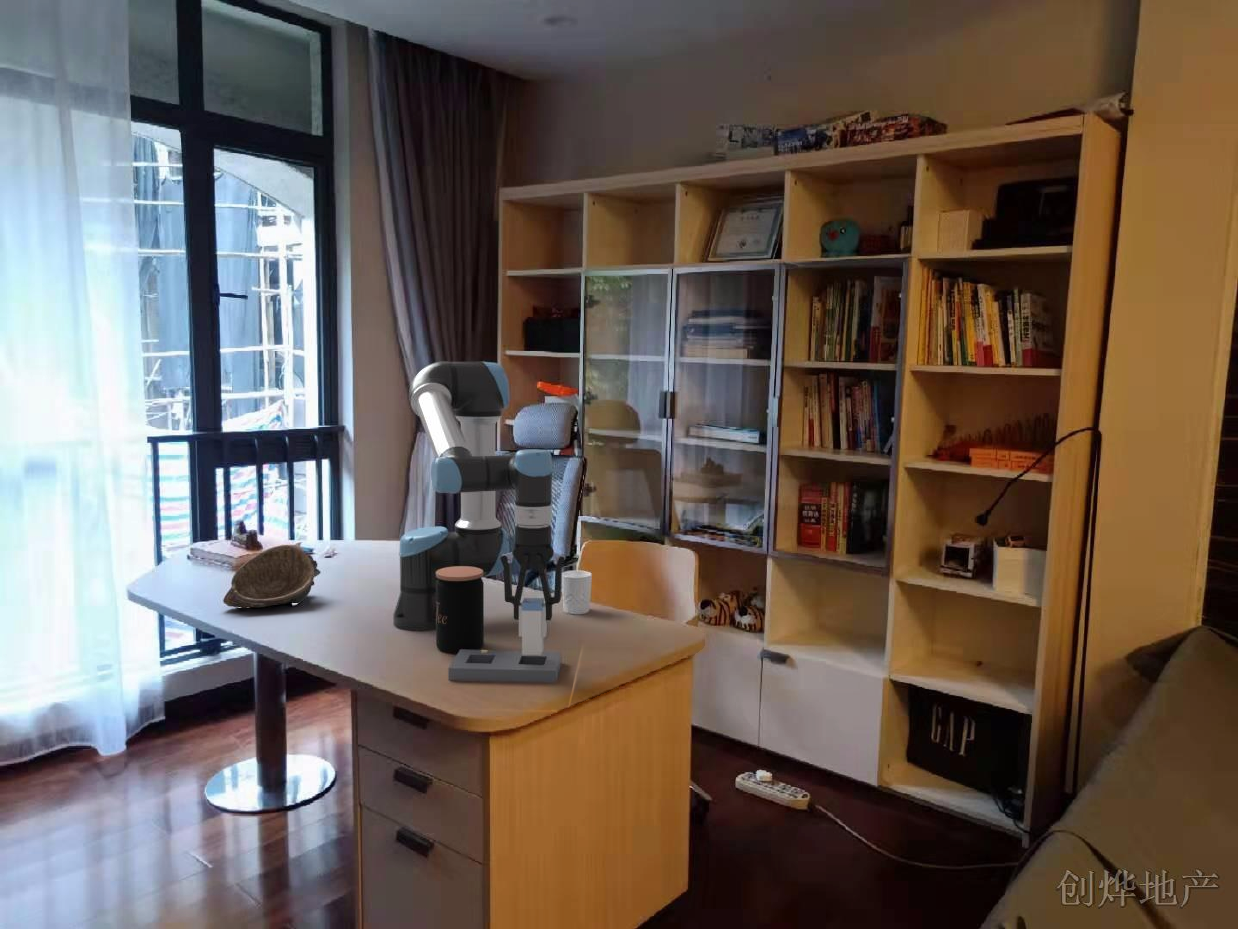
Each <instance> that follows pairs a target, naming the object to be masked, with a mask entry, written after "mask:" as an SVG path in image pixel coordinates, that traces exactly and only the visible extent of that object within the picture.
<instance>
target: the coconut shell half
mask: <svg viewBox="0 0 1238 929" xmlns="http://www.w3.org/2000/svg"><path fill="white" fill-rule="evenodd" d="M318 566H319V565H318V562H317V560H315V559H314V558H313V556H312V555H310V554H307V553H306V552H305V551H304V550H303V549H302V548H301V547H300V546H297V545H294V544H280V545H276V546H273V547H269V548H267V549H264V550H263V551H260V552H259V553H257V554H255V555H254V556H252V557H251V558H250V559H248V560H246V562H245V563H243V564H242V565H241V566H240V567H239V568H238V569H237V570H236V572H235V573H234V575H233V577H232V578H231V587H230V588H229V590H228V591H227V592H226V594H225V596H224V598H223V600H222V601H223V603H224V604H225V605H226V606H228V607H232V608H238V607H242V608H243V609H247V608H246V607H257V608H256V609H258V608H265V606H266V607H271V606H274V605H275V604H281V605H283V604H287V603H290V604H291V603H299V602H301V603H302V602H303V601H304V600H305V599H306V598H307V596H308V595H309V594H310V592H311V589H312V586H315V581H314V579H315V578H316V577H318V576H319V575H320V574H321V572H322V571H321V570H320V569H318ZM299 604H300V603H299ZM275 606H276V605H275ZM242 608H241V609H242Z"/></svg>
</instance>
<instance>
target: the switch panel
mask: <svg viewBox="0 0 1238 929" xmlns="http://www.w3.org/2000/svg"><path fill="white" fill-rule="evenodd" d="M561 666H562V651H544V650H543V651H542V654H541V655H522V650H503V649H501V650H499V649H498V650H497V649H479V650H465V649H460V651H459V652H458V654H456V655H455V657H454V658H453V660H452V662H451V663H450V665H449V667H448V668H447V670H448V671H447V672H448V675H447V676H448V681H463V682H464V681H469V682H506V683H507V682H508V683H509V682H510V683H539V684H540V683H541V684H542V683H546V684H549V683H550V684H555V683H557V680H558V678H559V674H560V673H559V672H560V669H561Z"/></svg>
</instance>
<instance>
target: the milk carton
mask: <svg viewBox="0 0 1238 929" xmlns="http://www.w3.org/2000/svg"><path fill="white" fill-rule="evenodd" d="M521 603H522V637H521V651H522V655H541V654H542V651H544V637H542V606H543V603H545V599H544V597H524V598H523V600H522V602H521Z"/></svg>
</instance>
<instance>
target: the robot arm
mask: <svg viewBox="0 0 1238 929" xmlns="http://www.w3.org/2000/svg"><path fill="white" fill-rule="evenodd" d="M510 396H511V392H510V385H509V380H508V376H507V374H506V372H505V370H504V368H503V367H502V365H500V364H499V363H497V362H490V361H489V362H488V361H437V362H433V363H431V364H429V365H427V366H425V367H424V368H422V369H421V370H419V372H418V373H417V374H416V375H415V376H414V378H413V380H412V381H411V384H410V387H409V391H408V401H409V403H410V407H411V409H412V411H413V412H414V414H415V415H417V416H418V417H419V418H420V421H421V423H422V426H423V429H424V431H425V432H424V433H425V434H426V436H427V439H428V442H429V445H430V447H431V450H432V452H433V455H434V456H433V457H434V459H433V460H432V462H431V465H430V479H431V485H432V486H431V487H432V488H433V490H434V491H435V492H436V493H439V494H451V495H454V494H460V518H459V519H458V520H457V521H456V523H455V524H454V531H451V532H449V530H448V528H446V527H444V526H441V525H440V526H426V527H425V526H424V527H420V528H416V529H413V530H410V531H408V532H405V533H404V534H403V535H402V536H401V537H400V539H399V540H400V541H399V552H398V556H399V589H400V590H399V595H398V598H397V602H396V605H395V608H394V611H393V614H392V617H393V618H392V620H393V621H392V622H393V625H394V626H395V627H397V628H399V629H401V630H403V629H404V630H408V631H430V630H436V581H437V580H438V578H437V577H436V571H437V570H439V569H442V568H446V567H454V566H470V567H476V568H480V569H482V570H483V576H482V577H481V578H487V577H489V576H496V575H499V574H501V573H502V572H503V586H504V587H503V589H504V591H503V592H504V601H505V602H506V603H510V604H512V606H513V620H515V621H518V637H521V638H522V602H521V600H522V596H523V592H524V591H523V590H524V588H525V587H524V586H525V583H526V576H527V574H528V571H530V570H531V571H532V570H535V571H538V572H537V573H538V575H539V579H540V584H541V588H542V593H543V598H544V603H543V606H542V637H543V638H547V634H548V622H549V621H551V620H552V618H553V606H554V605H555V604H559V603H560V601H561V599H562V573H563V565H564V562H565V560H566V555H565V554H558V553H557V552H555V549H553V545H552V526H551V525H550V524H551V523H552V518H553V517H552V515H553V514H552V512H553V511H552V508H553V506H552V505H553V504H552V493H553V492H552V491H553V490H552V489H553V487H552V486H553V485H552V484H553V464H552V463H553V461H552V454H551V452H550V451H548V450H546V449H545V450H544V449H538V448H537V449H534V448H533V449H531V448H530V449H520V450H518V451H517V452H516V453H515V452H512V453H507V454H504V455H503V454H502V455H496V423H497V422H498V421H500V419H501V418H502V416H503V415H502V412H503V411H505V409H508V408H509V404H510V399H511V397H510ZM459 423H460V424H459ZM499 491H500V492H502V491H505V492H506V491H514V499H515V500H514V522H515V524H516V526H515V527H514V547H513V549H512V551H511V552H509V551H510V542H509V535H508V534H509V533H508V532H507V530H506V529H504V528H502V523H501V522H500V520H498V519H497V518H496V517H497V516H496V492H499ZM513 558H514V559H515V560H516V561H517V563H518V565H520V569H519V575H518V580H517V585H516V588H515V593H514V595H513V582H512V580H513V579H512V578H513V577H512V576H513V575H512V563H513ZM551 559H553V564H554V565H555V567H554V568H555V569H554V590H553V591H554V596H553V595H552V592H551V588H550V587H551V586H550V584H549V583H550V582H549V577H548V572H547V567H546V566H547V565H548V563H549V562H550V560H551Z"/></svg>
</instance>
